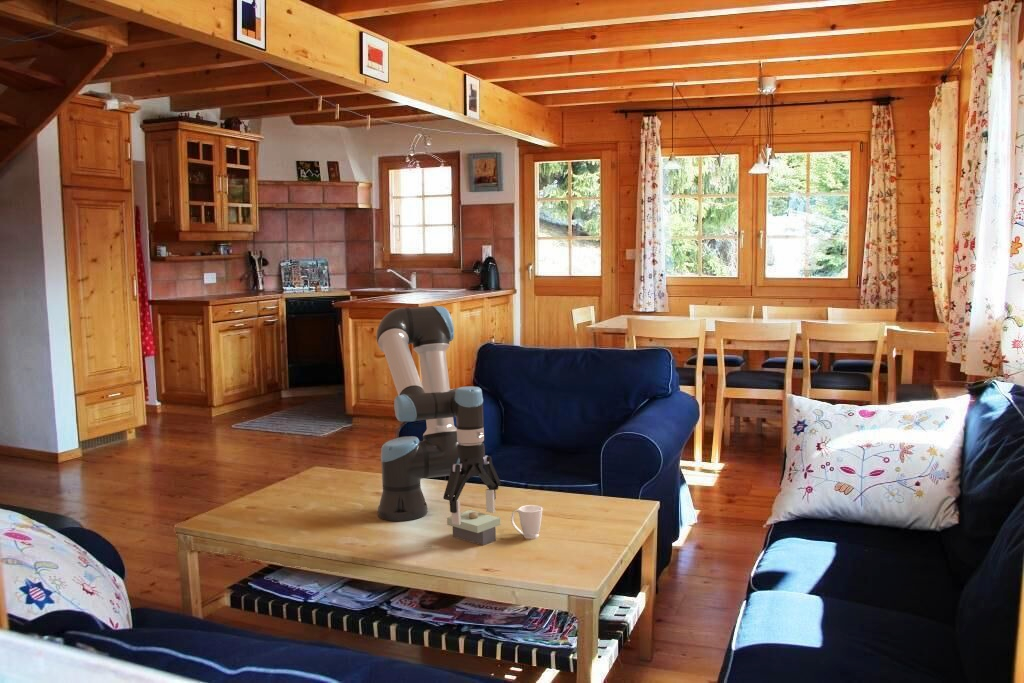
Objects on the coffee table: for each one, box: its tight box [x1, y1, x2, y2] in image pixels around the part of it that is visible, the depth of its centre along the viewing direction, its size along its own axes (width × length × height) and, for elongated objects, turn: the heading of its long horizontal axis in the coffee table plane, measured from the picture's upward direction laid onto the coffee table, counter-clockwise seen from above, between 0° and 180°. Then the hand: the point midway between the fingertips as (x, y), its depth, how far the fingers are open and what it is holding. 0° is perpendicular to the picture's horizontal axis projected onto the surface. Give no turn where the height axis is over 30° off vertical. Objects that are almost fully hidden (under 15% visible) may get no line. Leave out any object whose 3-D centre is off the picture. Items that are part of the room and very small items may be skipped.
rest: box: [452, 526, 497, 546], centre depth 244 cm, size 12×5×4 cm, turn 48°
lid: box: [446, 509, 501, 533], centre depth 243 cm, size 12×9×3 cm
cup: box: [510, 504, 543, 540], centre depth 245 cm, size 7×10×8 cm
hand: (473, 517), depth 243 cm, fingers open, 13 cm apart
